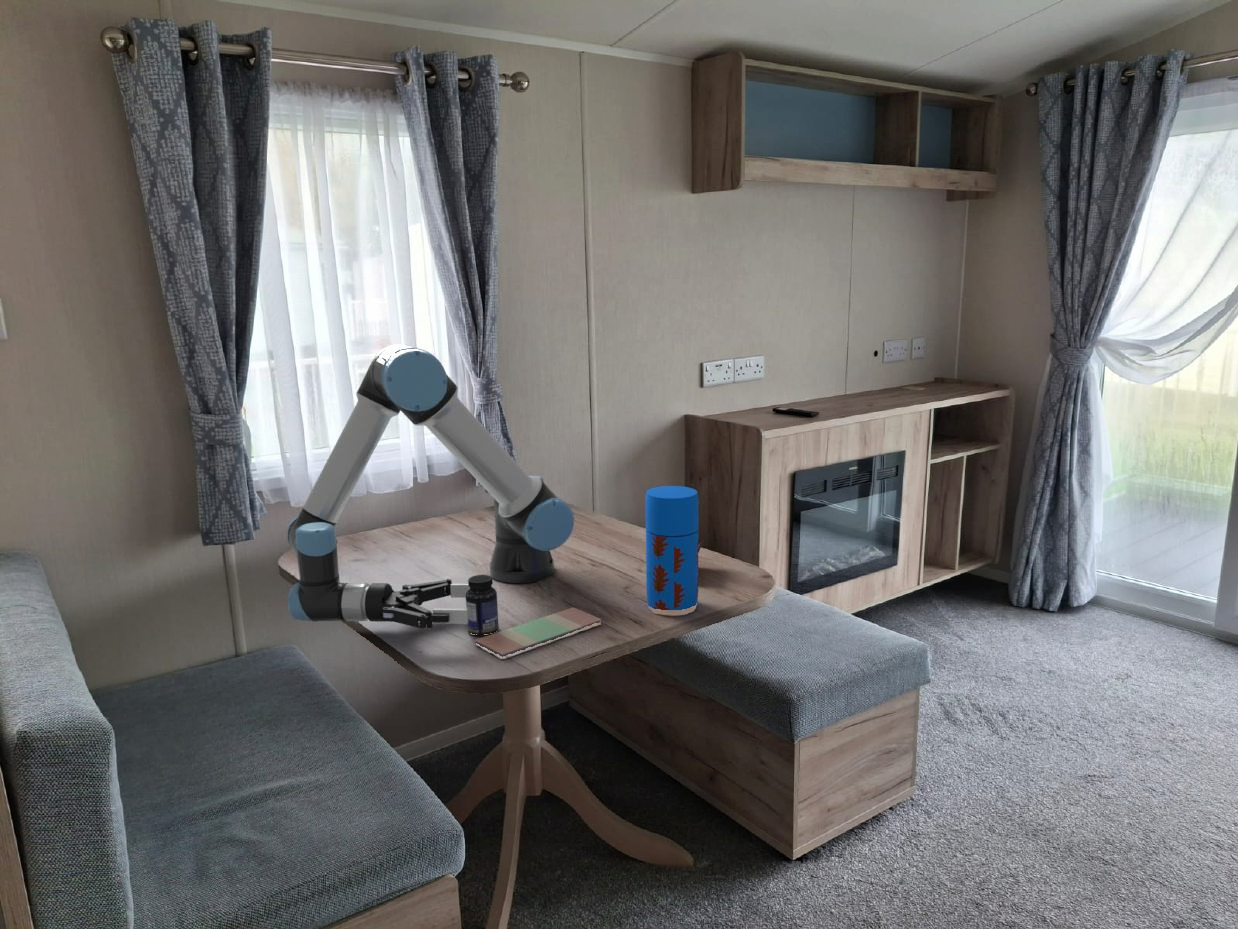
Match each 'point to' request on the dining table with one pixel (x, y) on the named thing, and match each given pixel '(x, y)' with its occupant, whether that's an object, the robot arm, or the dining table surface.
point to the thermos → (672, 547)
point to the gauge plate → (537, 631)
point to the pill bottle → (482, 605)
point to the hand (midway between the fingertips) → (475, 603)
